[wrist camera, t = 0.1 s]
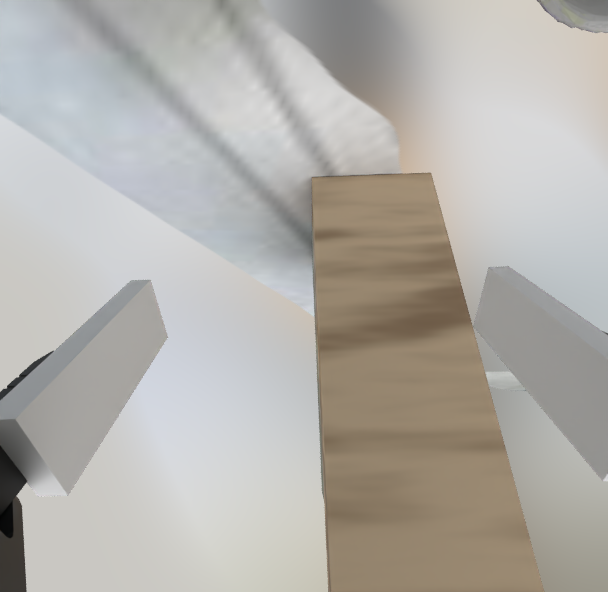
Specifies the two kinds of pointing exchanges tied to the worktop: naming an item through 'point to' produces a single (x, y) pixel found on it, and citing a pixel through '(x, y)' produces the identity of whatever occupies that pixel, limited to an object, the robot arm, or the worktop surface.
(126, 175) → the worktop surface
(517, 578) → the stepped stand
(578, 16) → the teacup
